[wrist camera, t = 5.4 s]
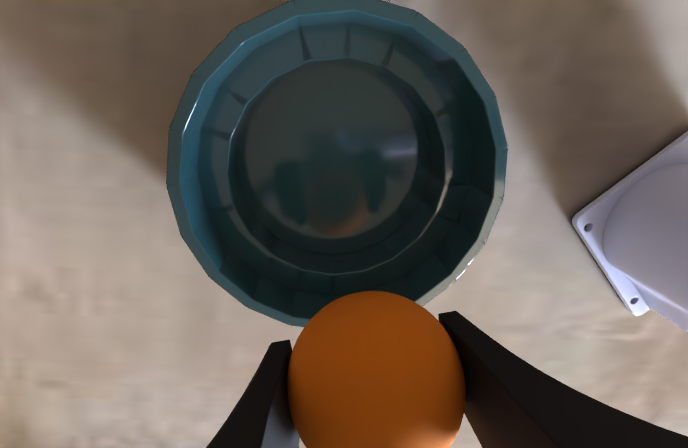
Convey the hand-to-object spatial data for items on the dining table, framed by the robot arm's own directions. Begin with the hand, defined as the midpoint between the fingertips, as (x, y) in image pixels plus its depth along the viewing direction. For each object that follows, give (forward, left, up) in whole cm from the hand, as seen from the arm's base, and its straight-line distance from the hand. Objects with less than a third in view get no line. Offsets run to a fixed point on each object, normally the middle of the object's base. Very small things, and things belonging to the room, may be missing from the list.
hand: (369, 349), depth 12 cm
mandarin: (0, 0, +1) cm, 1 cm away
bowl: (+4, -3, -8) cm, 10 cm away
